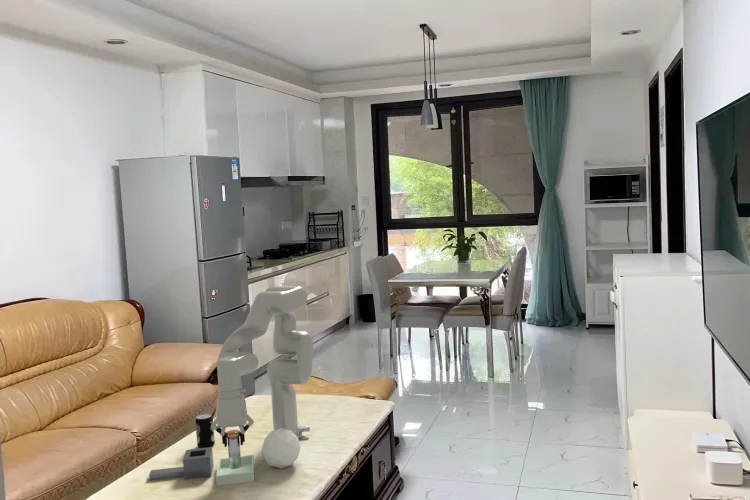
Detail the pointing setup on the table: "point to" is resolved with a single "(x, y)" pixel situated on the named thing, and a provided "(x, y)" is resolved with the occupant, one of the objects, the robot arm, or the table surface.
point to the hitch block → (189, 466)
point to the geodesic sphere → (281, 448)
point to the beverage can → (204, 431)
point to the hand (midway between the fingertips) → (233, 444)
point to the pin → (234, 449)
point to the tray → (235, 471)
